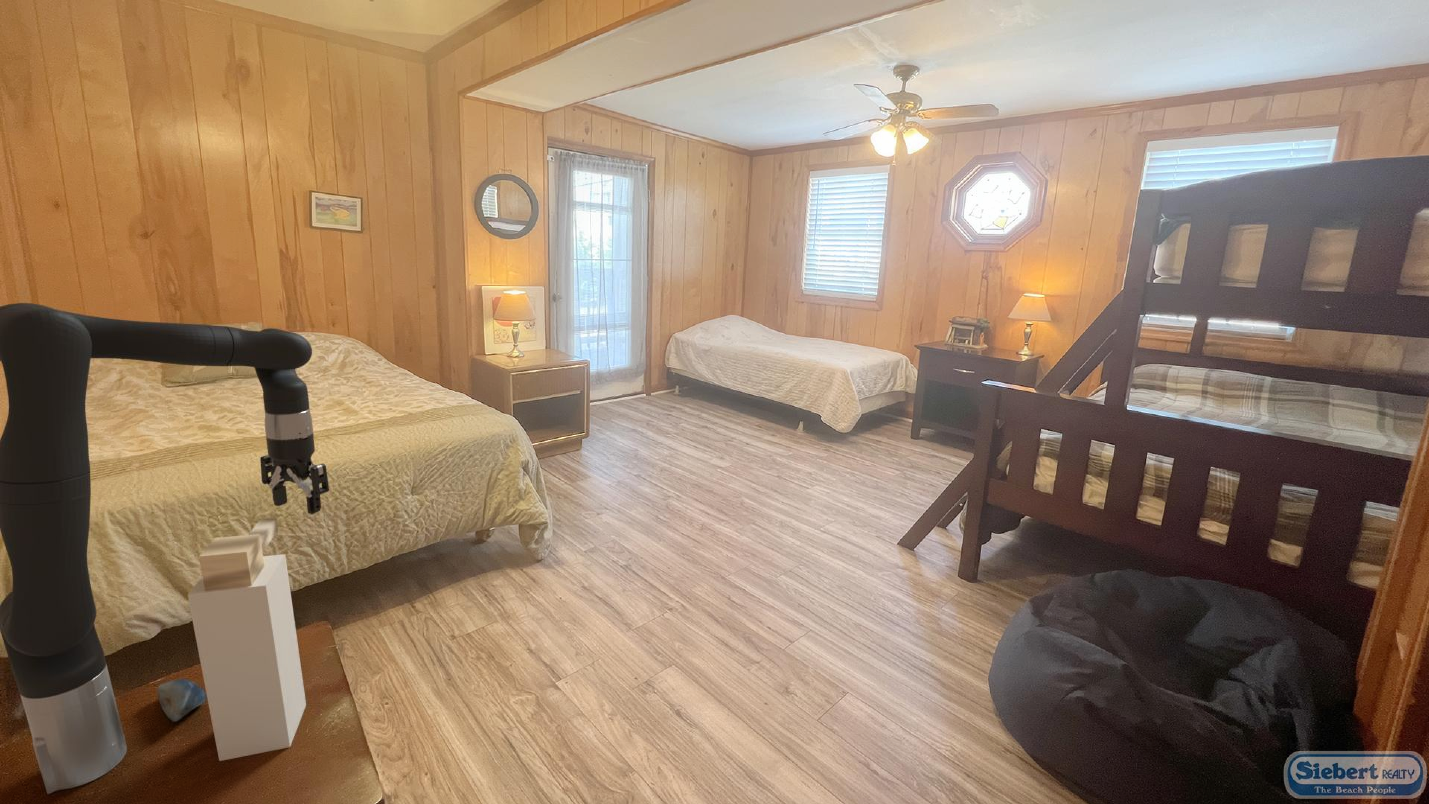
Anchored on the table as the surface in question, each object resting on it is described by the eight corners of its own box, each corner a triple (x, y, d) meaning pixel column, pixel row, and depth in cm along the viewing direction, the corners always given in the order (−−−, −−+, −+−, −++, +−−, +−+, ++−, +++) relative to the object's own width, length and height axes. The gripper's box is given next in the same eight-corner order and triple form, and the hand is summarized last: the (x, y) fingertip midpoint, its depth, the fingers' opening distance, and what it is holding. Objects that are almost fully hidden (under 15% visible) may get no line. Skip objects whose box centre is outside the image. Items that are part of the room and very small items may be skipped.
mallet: (251, 585, 94) (246, 551, 92) (205, 590, 92) (198, 556, 90) (289, 528, 111) (285, 499, 110) (250, 532, 109) (246, 502, 107)
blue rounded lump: (176, 672, 113) (135, 680, 104) (226, 678, 114) (189, 687, 105) (162, 708, 111) (119, 719, 102) (213, 714, 112) (174, 726, 103)
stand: (290, 747, 102) (265, 585, 94) (219, 761, 99) (187, 594, 90) (306, 705, 111) (285, 554, 103) (241, 716, 108) (214, 561, 99)
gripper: (242, 431, 113) (251, 509, 117) (300, 443, 109) (308, 522, 113) (279, 421, 120) (287, 495, 124) (335, 432, 116) (342, 507, 120)
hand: (297, 508), depth 119 cm, fingers open, 8 cm apart
